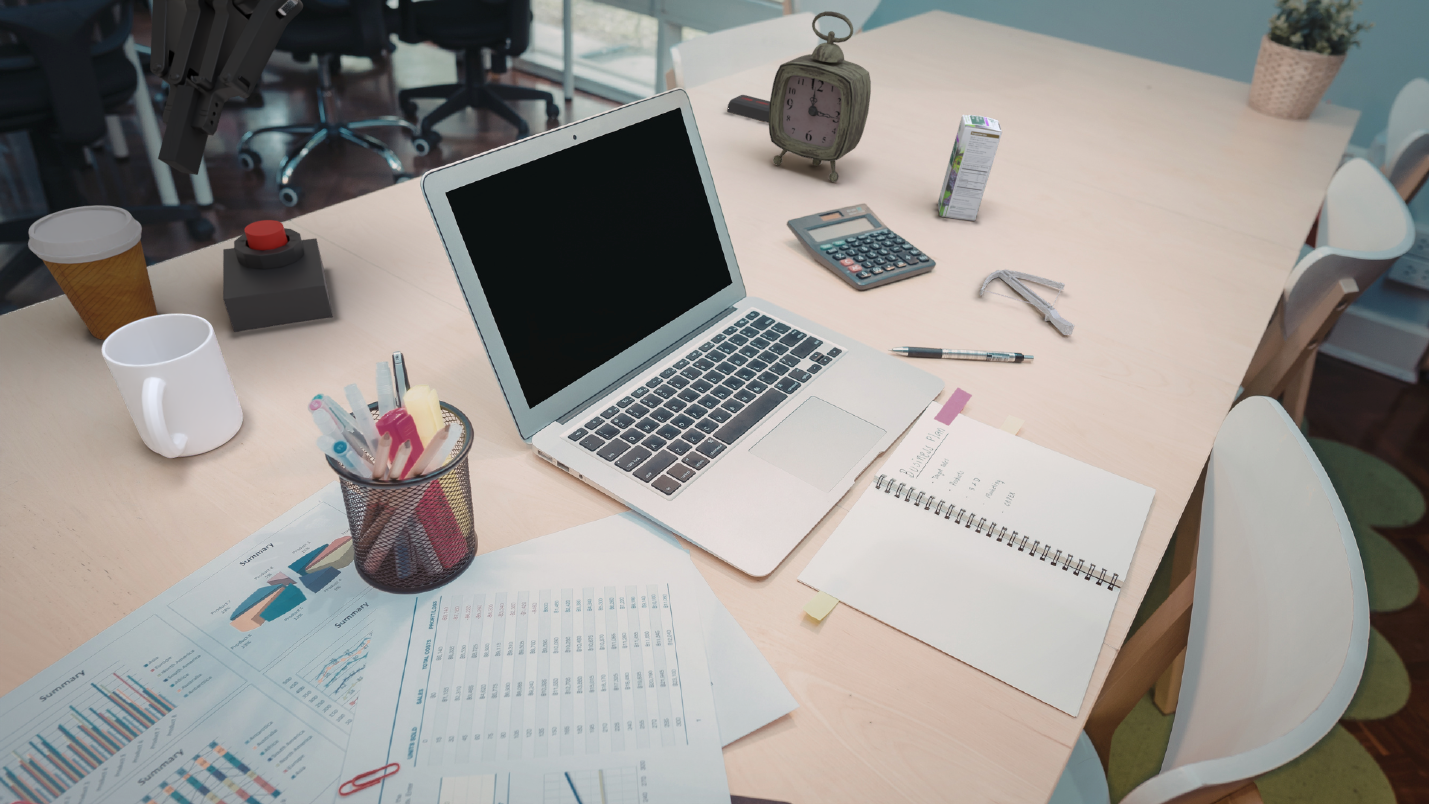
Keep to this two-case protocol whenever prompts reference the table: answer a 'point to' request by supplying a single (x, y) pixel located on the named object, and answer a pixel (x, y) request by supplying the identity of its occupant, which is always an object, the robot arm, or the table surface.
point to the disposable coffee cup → (97, 264)
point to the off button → (265, 235)
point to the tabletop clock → (819, 102)
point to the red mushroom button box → (274, 284)
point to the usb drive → (750, 107)
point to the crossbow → (1033, 295)
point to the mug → (174, 383)
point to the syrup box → (969, 167)
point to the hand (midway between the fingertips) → (178, 166)
